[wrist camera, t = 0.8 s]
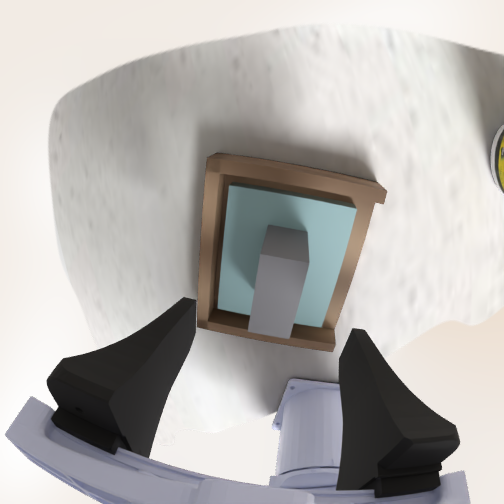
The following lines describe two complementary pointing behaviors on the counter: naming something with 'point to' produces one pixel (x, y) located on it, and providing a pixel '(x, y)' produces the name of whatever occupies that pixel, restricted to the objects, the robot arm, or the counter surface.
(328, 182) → the walnut box
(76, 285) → the counter surface
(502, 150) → the pill bottle
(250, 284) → the cover plate
